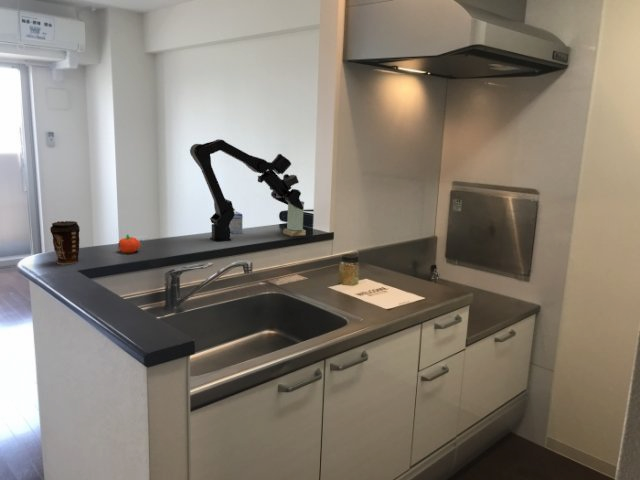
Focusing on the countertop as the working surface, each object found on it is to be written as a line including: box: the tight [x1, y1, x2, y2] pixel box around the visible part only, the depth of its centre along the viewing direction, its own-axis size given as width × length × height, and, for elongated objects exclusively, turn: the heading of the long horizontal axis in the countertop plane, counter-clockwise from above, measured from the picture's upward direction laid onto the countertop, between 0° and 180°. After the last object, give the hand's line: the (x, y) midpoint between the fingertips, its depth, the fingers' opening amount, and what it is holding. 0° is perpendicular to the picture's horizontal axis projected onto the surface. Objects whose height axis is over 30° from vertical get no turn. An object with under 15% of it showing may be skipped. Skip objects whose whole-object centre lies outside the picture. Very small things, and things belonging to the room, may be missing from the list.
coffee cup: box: [49, 220, 81, 266], centre depth 168 cm, size 9×8×13 cm
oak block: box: [282, 228, 306, 237], centre depth 226 cm, size 7×7×2 cm
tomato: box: [117, 234, 141, 254], centre depth 185 cm, size 7×8×6 cm
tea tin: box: [286, 200, 305, 230], centre depth 225 cm, size 5×5×12 cm
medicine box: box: [229, 210, 244, 235], centre depth 226 cm, size 8×4×9 cm, turn 25°
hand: (297, 207), depth 225 cm, fingers open, 9 cm apart
